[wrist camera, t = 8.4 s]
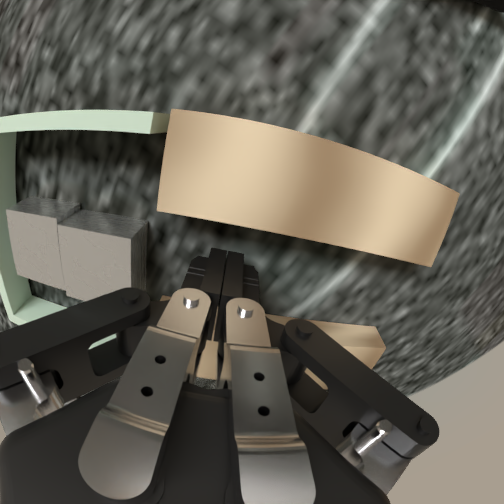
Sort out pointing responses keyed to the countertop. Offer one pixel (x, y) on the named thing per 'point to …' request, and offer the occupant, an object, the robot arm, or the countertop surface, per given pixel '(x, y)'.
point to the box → (4, 190)
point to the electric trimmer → (492, 4)
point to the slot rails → (301, 200)
